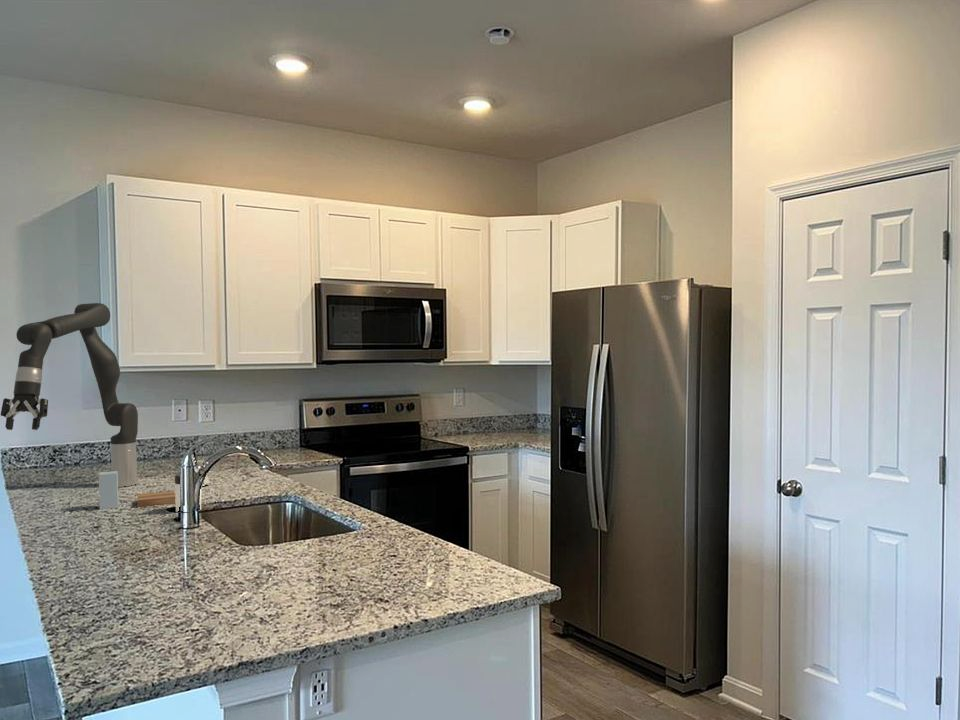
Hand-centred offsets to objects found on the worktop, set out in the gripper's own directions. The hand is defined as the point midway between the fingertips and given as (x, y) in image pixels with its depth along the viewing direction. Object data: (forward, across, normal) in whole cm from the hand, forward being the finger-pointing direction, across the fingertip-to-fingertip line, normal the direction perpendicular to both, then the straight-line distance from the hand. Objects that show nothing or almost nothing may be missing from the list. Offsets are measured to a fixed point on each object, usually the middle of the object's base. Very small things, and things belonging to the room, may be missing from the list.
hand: (22, 429), depth 239 cm
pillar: (+25, -24, -16) cm, 38 cm away
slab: (+24, -38, -22) cm, 50 cm away
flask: (+17, -41, -51) cm, 68 cm away
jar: (+26, -55, -9) cm, 61 cm away
